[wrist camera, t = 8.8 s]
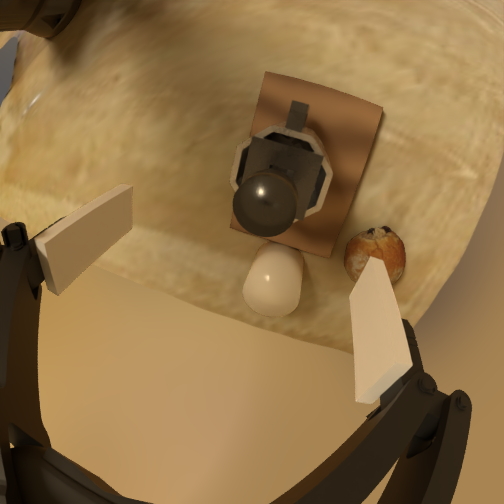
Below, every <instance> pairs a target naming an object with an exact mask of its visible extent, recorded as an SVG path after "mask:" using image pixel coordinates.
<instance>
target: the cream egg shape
mask: <svg viewBox="0 0 504 504" xmlns="http://www.w3.org/2000/svg"><path fill="white" fill-rule="evenodd" d="M303 267H304V259H303V255H302V253H301V252H300V250H299V249H297V248H294V247H290V246H287V245H284V244H281V243H278V242H274V241H269V242H267V243H265V244H263V245H262V246H261V247H260V248H259V250H258V251H257V254H256V256H255V259H254V261H253V264H252V266H251V268H250V271H249V273H248V276H247V278H246V281H245V283H244V286H243V290H242V293H243V298H244V300H245V302H246V303H247V305H248V306H249V307H250V308H251V309H252V310H254V311H255V312H257V313H259V314H261V315H264V316H268V317H281V316H285V315H287V314H289V313H291V312H292V311H293V310H295V308H296V307H297V306H298V303H299V300H300V292H301V284H302V276H303Z"/></svg>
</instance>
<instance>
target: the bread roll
mask: <svg viewBox="0 0 504 504" xmlns="http://www.w3.org/2000/svg"><path fill="white" fill-rule="evenodd" d="M404 249H405V248H404V244H403V242H402V240H401V239H400V238H399V237H398V236H397V235H396V233H394V232H393V231H392V230H391V229H390V228H389V227H387V226H383V227H382V228H371V229H369V230H368V231H364V232H361V233H360V234H358V235H357V236H356V237H353V239H352V240H351V241H350V242H349V243H348V244H347V248H346V254H345V259H344V265H345V268H346V271H347V273H348V275H349V276H350V278H351V280H353V281H355V282H357V281H358V279H359V277H360V275H361V274H362V272H363V270H364V268H365V266H366V264H367V262H368V260H369V258H370V256H372V257H374V258H377V259H380V260H383V262H384V265H385V267H386V270H387V273H388V276H389V279H390V282H391V285H392V284H393V283H395V282H396V281H397V280H398V279H399V278H400V276H401V274H402V272H403V270H404V267H405V262H406V261H405V252H404V251H405V250H404Z"/></svg>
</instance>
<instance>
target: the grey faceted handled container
mask: <svg viewBox="0 0 504 504" xmlns="http://www.w3.org/2000/svg"><path fill="white" fill-rule="evenodd" d="M309 109H310V105H309V104H305V103H302V102H298V101H295V100H292V103H291V106H290V110H289V114H288V118H287V122H285V121H283V122H280V123H277V124H274V125H271V126H269V127H268V128H266V129H264V130H262V131H261V132H259V133H257V134H255V135H253V136H252V137H250V138H249V139H247V140H245V141H244V142H242V143H240V144H239V145H238V146H237V148H236V153H235V157H234V162H233V167H232V172H231V176H230V181H229V182H231V183H230V185H231V186H232V188H233V189H234V191H235V192H236V191H237V189H238V188H239V187H240V186H241V185H242V184H243V182H244V181H245V180H246V179H247V178H248V177H249V176H250V175H252V174H253V173H255V172H257V171H259V170H263V169H269V168H270V164H271V165H275V166H278V167H282V168H285V169H289V170H292V171H294V175H293V178H292V181H293V182H294V184H295V185H296V187H297V190H298V195H299V200H298V206H297V212H296V216H295V219H294V222H296V221H298V220H301V221H303V220H304V217H307V216H309V215H311V214H313V213H315V212H318V211H320V209H321V208H322V205H323V202H324V199H325V197H326V194H327V191H328V188H329V185H330V182H331V179H332V176H333V171H332V168H331V164H330V161H329V157H328V155H327V153H326V151H325V149H324V146H323V144H322V142H321V140H320V139H319V137H318V136H317V135H316V133H315V131H313V129H310V128H307V127H305V123H306V119H307V116H308V112H309ZM280 134H284V135H287V136H291V137H294V138H298V139H301V140H304V141H308V142H309V143H310V145H311V146H312V148H313V150H314V152H312V151H309V150H306V149H303V148H299V147H296V146H292V145H289V144H286V143H282V142H278V141H275V140H271V138H273V137H275V136H277V135H280ZM294 222H293V223H294Z"/></svg>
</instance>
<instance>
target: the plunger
mask: <svg viewBox="0 0 504 504" xmlns="http://www.w3.org/2000/svg"><path fill="white" fill-rule="evenodd" d="M271 140H275V141H278V142H282V143H286V144H289V145H292V146H296V147H299V148H303V149H306V150H309V151H312V152H314V150H313V148H312V146H311V145H310V143H309V142H308V141H304V140H301V139H298V138H294V137H291V136H287V135H284V134H280V135H277V136H275V137H273V138H271ZM293 175H294V171H292V170H289V169H285V168H282V167H278V166H275V165H271V164H270V168H269V169H263V170H259V171H257V172H255V173H253V174H252V175H250V176H249V177H248V178H247V179H246V180H245V181H244V182H243V184H242V185H241V186H240V187H239V188H238V189H237V191H236V193H235V195H234V198H233V212H234V215H235V217H236V219H237V221H238V223H239V224H240V225H241V226H242V227H243V228H244V229H245V230H246V231H248V232H249V233H251V234H254V235H256V236H260V237H273V236H277V235H280V234H282V233H283V232H285V231H286V230H287V229H288V228H289V227H290V226H291V225H292V223H293V222H294V219H295V216H296V212H297V206H298V200H299V195H298V190H297V187H296V185H295V184H294V182H293V181H292V178H293Z"/></svg>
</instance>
